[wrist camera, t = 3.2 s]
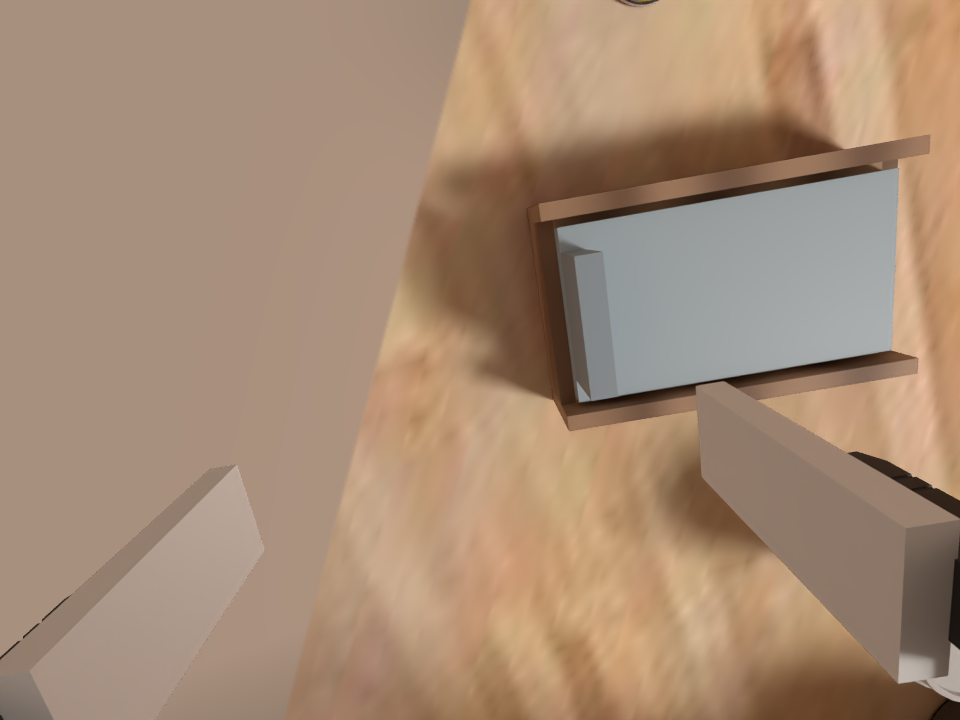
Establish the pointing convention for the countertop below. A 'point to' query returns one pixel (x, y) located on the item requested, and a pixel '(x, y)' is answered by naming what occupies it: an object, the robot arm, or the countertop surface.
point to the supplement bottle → (639, 2)
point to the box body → (686, 193)
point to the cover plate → (730, 285)
